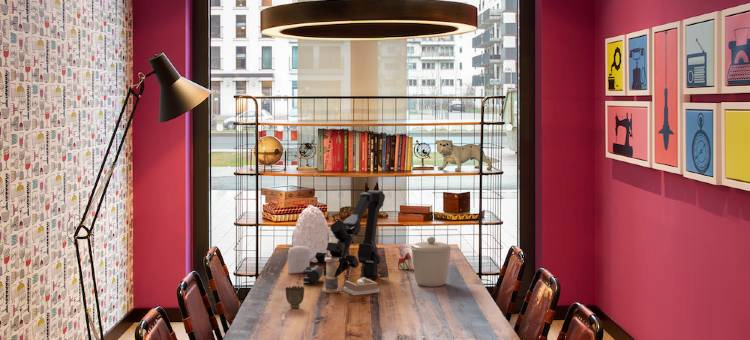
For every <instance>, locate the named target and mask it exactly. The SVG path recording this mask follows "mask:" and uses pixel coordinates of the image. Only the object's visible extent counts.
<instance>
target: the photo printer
mask: <svg viewBox="0 0 750 340" xmlns="http://www.w3.org/2000/svg"><path fill="white" fill-rule="evenodd" d="M287 251H288V253H287V260H288V261H287V271H288V272H287V273H288V274H300V273H302V274H303V270H304V269H306V267H310V262H309V248H308V247H305V246H295V247H292V246H291V247H289V248H288V250H287Z"/></svg>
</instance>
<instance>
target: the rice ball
mask: <svg viewBox="0 0 750 340" xmlns="http://www.w3.org/2000/svg"><path fill="white" fill-rule="evenodd" d="M329 228H330V227H329V225H328V221H327V220H326V216H325V214H323V211H321V210H320V208H318V206H314V205H312V204H309V205H308V206H307V208H305V209H303V210H302V212H301V213H299V216H298V219H297V220H296V223H295V227H294V228H293V230H292V235H291V248H292V247H295V246H305V247H308V248H309V263H319V262H318V261H317V259H316V258H315V255H316V253H317V252H324V253H326V254H327V255H328V256H330V253H329V252H330V251H329V250H326V249H327V245H328V242H330V243H332V242H331V241H332V240H331V238H332V237H331V229H329Z"/></svg>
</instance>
